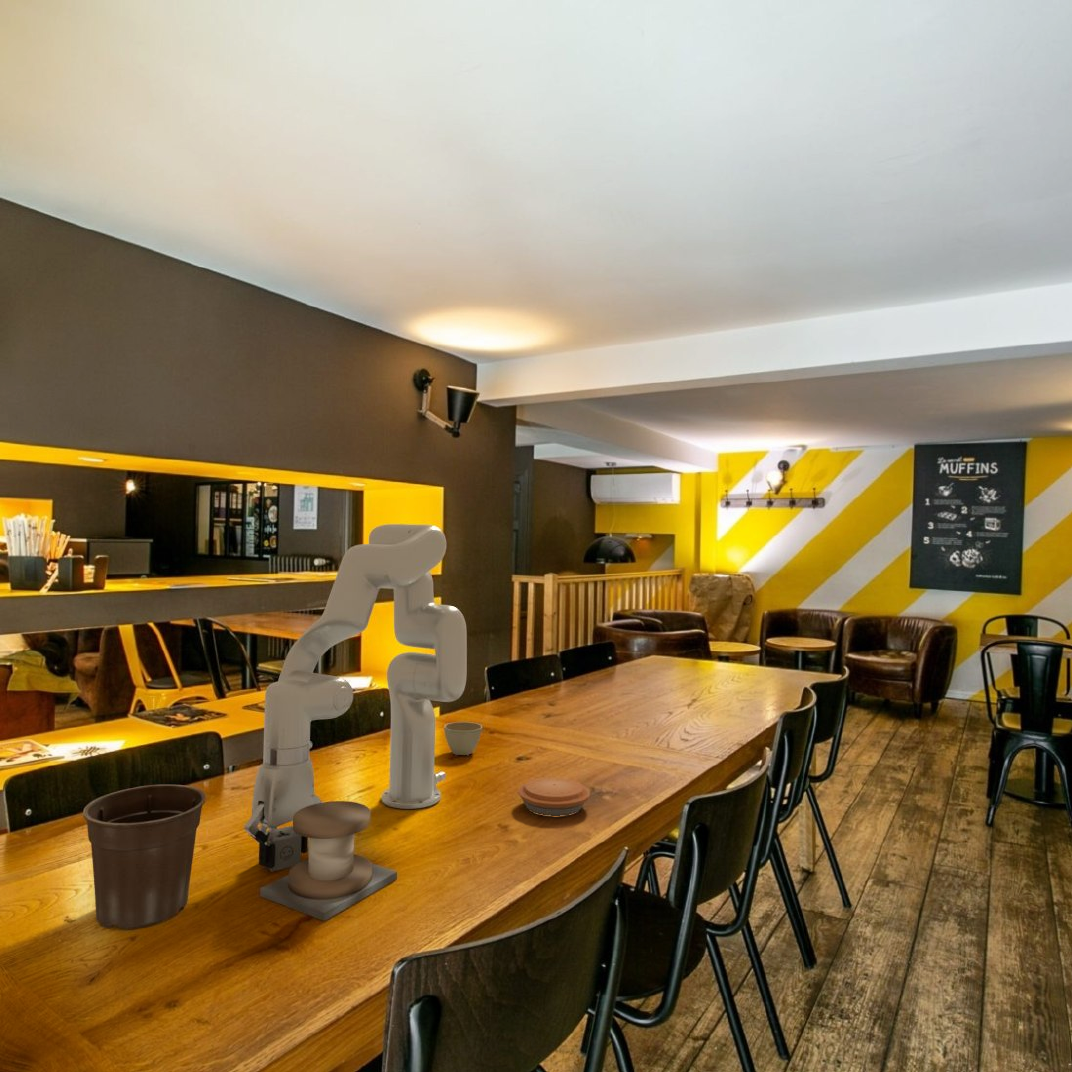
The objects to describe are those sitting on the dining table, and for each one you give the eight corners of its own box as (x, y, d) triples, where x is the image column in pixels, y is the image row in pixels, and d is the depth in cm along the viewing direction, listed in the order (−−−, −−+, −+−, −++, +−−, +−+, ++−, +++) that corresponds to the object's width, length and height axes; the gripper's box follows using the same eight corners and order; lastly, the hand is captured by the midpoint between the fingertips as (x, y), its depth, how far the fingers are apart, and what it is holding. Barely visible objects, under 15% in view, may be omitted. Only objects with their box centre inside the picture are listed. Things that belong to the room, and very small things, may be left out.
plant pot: (222, 909, 110) (224, 802, 110) (103, 953, 98) (106, 832, 98) (177, 874, 121) (179, 777, 121) (64, 910, 109) (67, 801, 109)
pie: (527, 824, 145) (528, 799, 145) (509, 798, 160) (510, 775, 160) (600, 818, 150) (601, 794, 150) (576, 792, 164) (576, 770, 165)
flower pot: (486, 756, 190) (487, 729, 190) (449, 760, 186) (449, 732, 186) (475, 746, 199) (475, 720, 199) (439, 749, 196) (440, 723, 196)
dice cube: (271, 871, 122) (271, 841, 122) (262, 860, 126) (263, 832, 126) (300, 864, 125) (301, 835, 125) (291, 854, 129) (291, 825, 129)
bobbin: (335, 858, 128) (337, 791, 128) (397, 878, 121) (398, 808, 121) (260, 896, 114) (261, 821, 114) (324, 921, 107) (326, 841, 107)
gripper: (309, 739, 135) (307, 837, 135) (228, 762, 120) (225, 872, 120) (339, 746, 131) (336, 846, 131) (259, 770, 116) (256, 883, 116)
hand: (283, 857), depth 125 cm, fingers closed on dice cube, 6 cm apart
